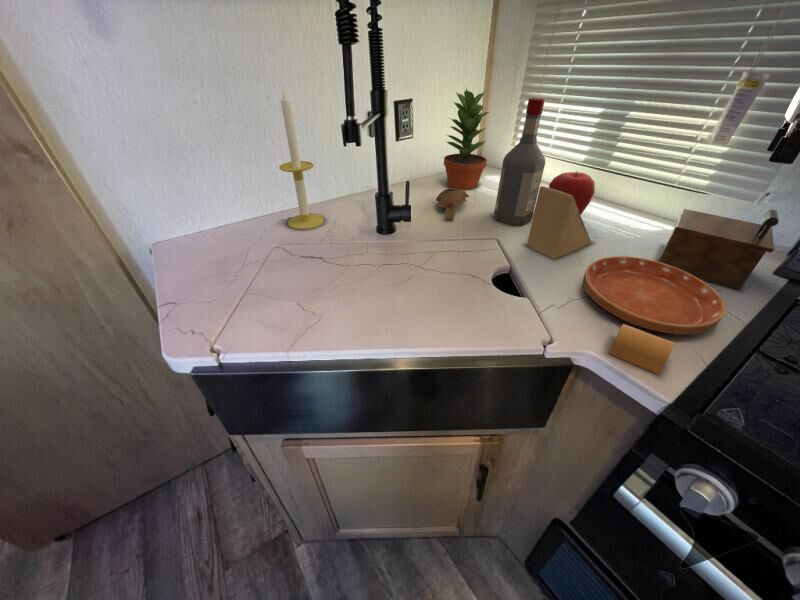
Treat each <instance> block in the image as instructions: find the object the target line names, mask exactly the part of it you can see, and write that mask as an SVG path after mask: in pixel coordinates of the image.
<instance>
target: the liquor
mask: <svg viewBox="0 0 800 600" xmlns="http://www.w3.org/2000/svg"><path fill="white" fill-rule="evenodd" d="M545 101H546V99H545V98H541V97H539V98H538V97H531V98H528V101H527V106H526V111H525V120H524V125H523V128H522V129H523V130H522V134H521V137H520V139H519V142H518V143H517V144H516V145H515V146H513V147H512V149H510V151H508V152H507V153H506V154H505V156H504V158H503V160H502V164H501V170H500V176H499V183H498V189H497V195H496V200H495V206H494V212H493V215H494V217H495V219H496V221H497V222H500V223H503V224H507V225H509V226H513V227H514V226H515V227H516V226H517V227H518V226H520V227H521V226H523V225H525V224H526V223H528V222H530V221H532V219H533V215H534V211H535V206H536V202H537V198H538V193H539V189H540V186H541V183H542V179H543V178H542V177H543V174H544V170H545V167H546V157H545V155H544V153H543V152H542V150H541V148H540V147H539V145H538V144H537V143H538V139H537V137H538V131H539V127H540V121H541V117H542V116H541V115H542V114H543V110H544V106H545Z"/></svg>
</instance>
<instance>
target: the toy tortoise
mask: <svg viewBox="0 0 800 600" xmlns="http://www.w3.org/2000/svg"><path fill="white" fill-rule="evenodd" d="M467 198H470V195H469V194H467V193H466V190H463V189H455V188H452V187H449V188H445V189H443V190H442V191H441V192H440V193H439V194H438V195H437V196H436V199H435V201H436V202H437V203H436V206H437V207H440V208H445V211H444V220H446V221H453V220H454V218H455V216H456V207H458V206H461V205H463V204H465V203H467Z"/></svg>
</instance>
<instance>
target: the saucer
mask: <svg viewBox="0 0 800 600" xmlns="http://www.w3.org/2000/svg"><path fill="white" fill-rule="evenodd" d="M582 283H583V287H584V289H585V291H586V292H587V294H588V295H589V297H590V298H591V299H592V300H593V301H594V302H595V303H596V304H597V305H599V306H600V307H602V308H603V309H604V310H605V311H607V312H608V313H610V314H611V315H613V316H615V317H616V318H619V319H620V320H623V321H625V322H627V323H628V324H632V325H635V326H636V327H639V328H643V329H647V330H649V331H650V330H651V331H654V332H661V333H665V334H673V335H694V334H702V333H706V332H708V331H710V330H712V329H714V328H715V327H716V326H717V325H718V324H719V323H720V321H721V320H722V319H723V318H724V316H725V314H726V309H727V308H726V304H725V301H724V299H723V298H722V296H721V295H720V294H719V293H718V292H717V291H716V290H715V288H713V287H712V286H711V285H710V284H708V283H707V282H706V281H704V280H701V279H699V278H697V277H695V276H693V275H692V274H690V273H687V272H685V271H683V270H681V269H678V268H676V267H673V266H670V265H667V264H664V263H661V262H658V261H656V260H653V259H648V258H643V257H637V256H626V255H625V256H623V255H618V256H608V257H602V258H599V259H596V260H595V261H592V262H591V263H589V264H588V266H587V267H586V269H585V271H584V274H583V278H582Z"/></svg>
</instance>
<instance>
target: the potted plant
mask: <svg viewBox="0 0 800 600" xmlns="http://www.w3.org/2000/svg"><path fill="white" fill-rule="evenodd" d="M467 88H468V87H466V88H465V90H464V91H463V94H462V93H458V92H457V91H455V93H456V95H457V98H458V99H459V101H460V103H459V102H455V101H453V100H452V102H453V104H454V105H455V106H456V108H457V109H458V110H457V116H458V119H459V120H458V119H454V118H451V117H449V119H450V120H451V121H452V122H453V123H454V124H455V125H456V126H457V127H456V126H452V125H451V126H450V128H451V129H452V130H454V131H455V132H457V133H458V134H460V135H461V136H462V140H461V138H458V137H456V136H454V135H450V134H449V135H448V134H444V135H445V136H447V137H449V138H450V139H451V140H453V141H447V140H445V142H446V143H447V144H448V145H450V146H452V147H454V148H455V149H457V150H459V151H458V152H459V153H452V154H447V155H445V156H444V158H443V166H444V168H445V173H446V174H445V175H446V180H447V184H448V187H449V188H455V189H463V190H464V191H466V190H472V189H473V190H474V189H475V188H477V187H478V184H479V183H480V182H479V181H480V179H481V177H482V174H483V172H484V169H485V168H486V167H487V161H488V160H487V158H486V157H485V156H482V155H479V154H474V153H473V152H474V151H476V150H477V149H479V148H480V147H481V146H483V145H484V144H485V142H486V140H484V141H477V142H476V143H473V139H475V138H476V136H478V135H479V134H481V133H482V132H483V131H485V130H486V129H487V127H485V128H482V129H477V128H478V127H479V125H480V123H481V121H482V119H483V118H484V117H485V116H487V115H488V114H489V113H490V111H485V112H483V111H482V110H483V109H484V103H483V104H480V103H479V102H480V101H481V99H482V98H483V96H484V95H485V94H486V91H487V90H485V91H484V92H481V93H478V94H477V95H476V96H475V94H474V93H473V92H472V91H470V90H468V89H467ZM482 112H483V113H482Z"/></svg>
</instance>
